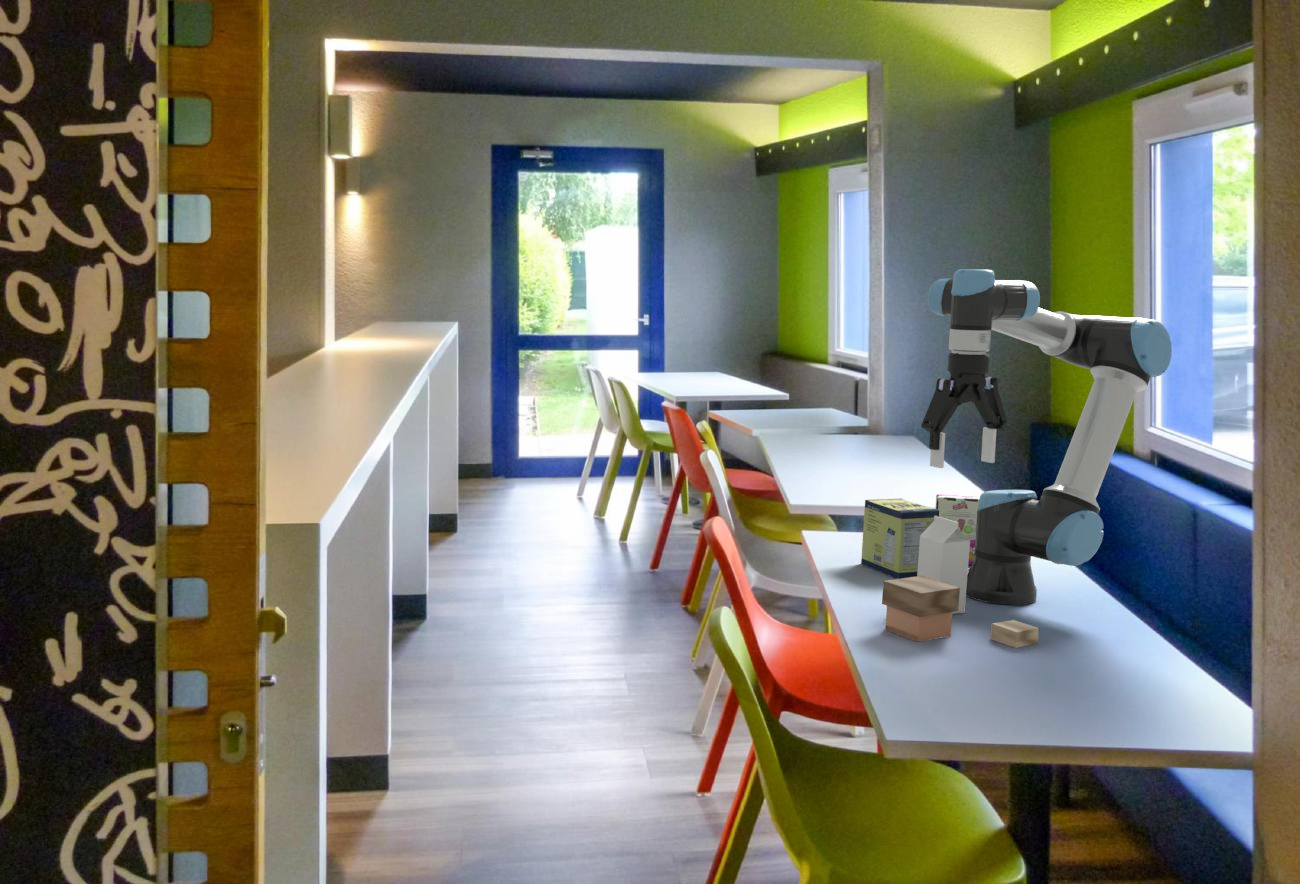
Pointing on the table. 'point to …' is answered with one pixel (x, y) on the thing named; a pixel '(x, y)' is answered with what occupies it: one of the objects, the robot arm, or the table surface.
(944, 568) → the milk carton
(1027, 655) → the table surface
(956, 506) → the candy bar box
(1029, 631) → the stand
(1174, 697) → the table surface
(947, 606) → the brown box
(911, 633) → the open square box
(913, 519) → the protein box
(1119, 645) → the table surface
